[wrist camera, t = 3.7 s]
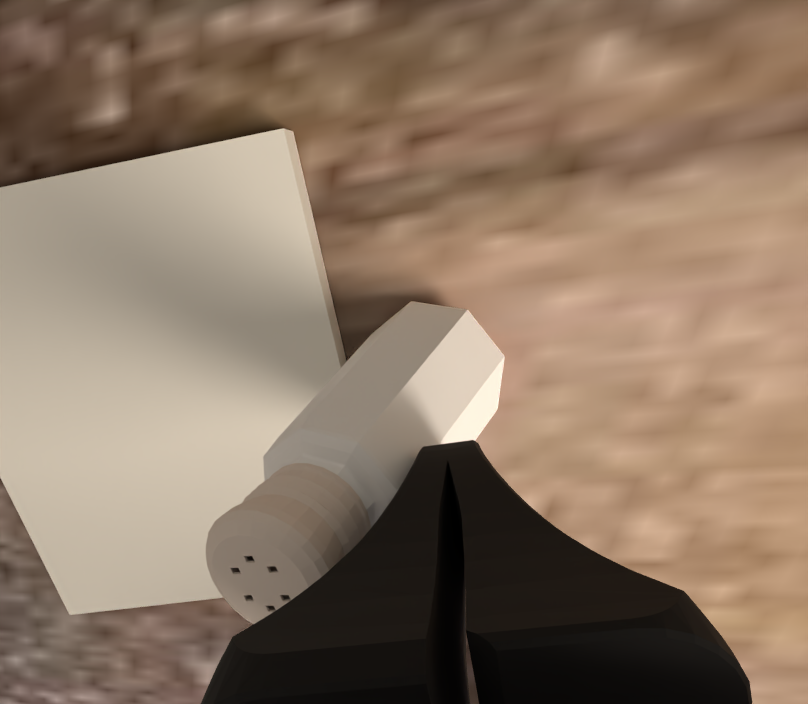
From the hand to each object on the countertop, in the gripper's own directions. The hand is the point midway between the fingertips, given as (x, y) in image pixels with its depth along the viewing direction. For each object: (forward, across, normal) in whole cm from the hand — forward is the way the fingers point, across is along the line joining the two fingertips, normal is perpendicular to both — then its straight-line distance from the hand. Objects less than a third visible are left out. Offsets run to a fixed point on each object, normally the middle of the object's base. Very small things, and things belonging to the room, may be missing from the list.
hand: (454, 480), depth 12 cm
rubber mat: (+8, +11, 0) cm, 14 cm away
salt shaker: (+8, 0, 0) cm, 8 cm away
